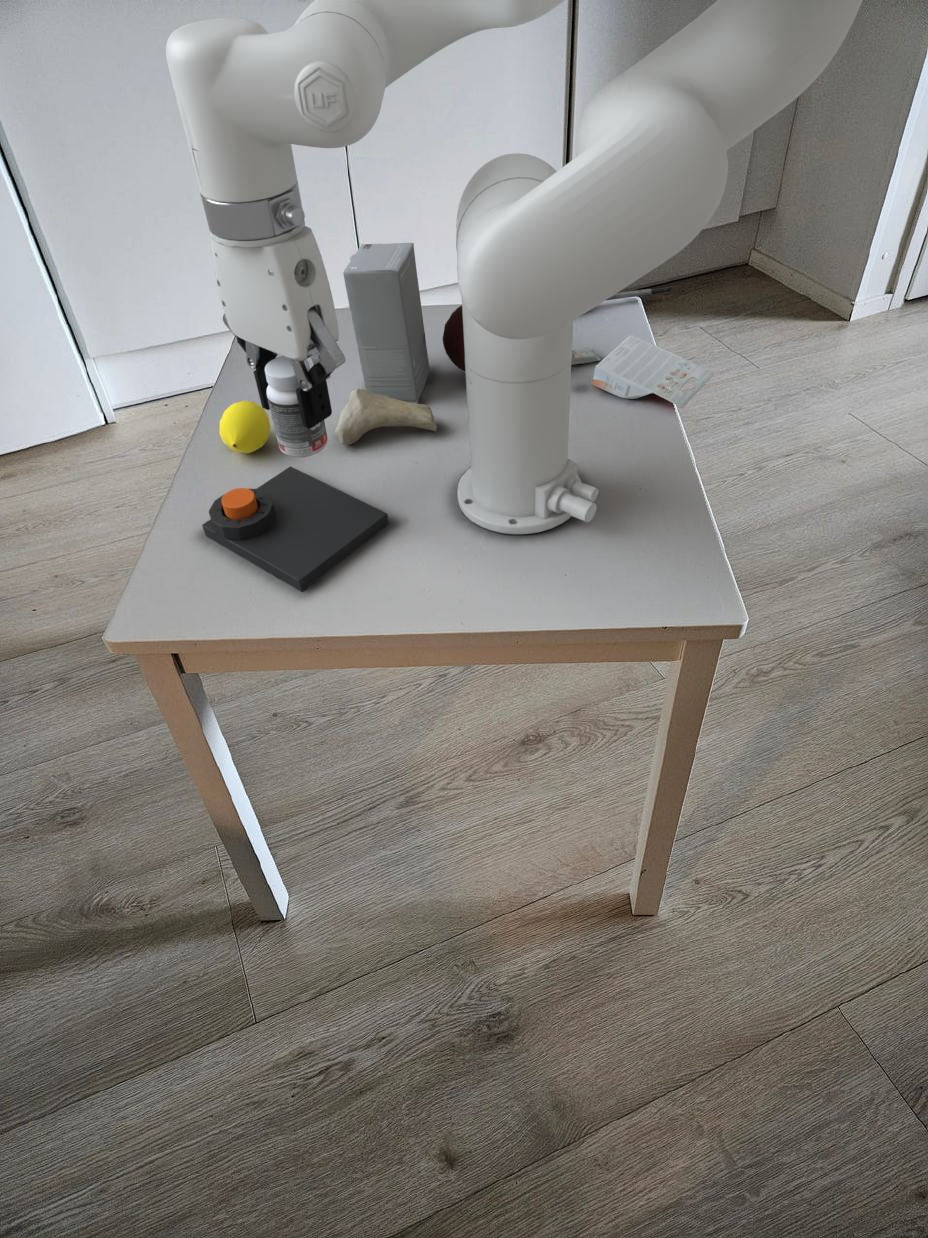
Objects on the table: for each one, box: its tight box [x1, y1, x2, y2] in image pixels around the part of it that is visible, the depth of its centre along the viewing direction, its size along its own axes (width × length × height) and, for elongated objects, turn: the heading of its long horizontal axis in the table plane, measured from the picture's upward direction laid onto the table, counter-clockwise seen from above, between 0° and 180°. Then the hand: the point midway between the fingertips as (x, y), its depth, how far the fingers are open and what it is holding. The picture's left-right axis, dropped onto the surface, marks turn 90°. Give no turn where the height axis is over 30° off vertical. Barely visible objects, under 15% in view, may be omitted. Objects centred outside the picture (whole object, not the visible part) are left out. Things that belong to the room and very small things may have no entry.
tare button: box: [221, 487, 258, 520], centre depth 85 cm, size 3×3×2 cm
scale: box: [201, 466, 390, 592], centre depth 86 cm, size 14×12×3 cm
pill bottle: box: [265, 355, 328, 458], centre depth 81 cm, size 5×5×8 cm
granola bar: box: [571, 348, 602, 366], centre depth 106 cm, size 7×1×3 cm
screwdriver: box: [604, 286, 673, 302], centre depth 116 cm, size 25×3×3 cm
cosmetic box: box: [342, 242, 430, 404], centre depth 100 cm, size 8×7×16 cm
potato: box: [442, 304, 466, 373], centre depth 102 cm, size 9×12×9 cm
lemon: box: [218, 400, 271, 454], centre depth 95 cm, size 7×5×5 cm
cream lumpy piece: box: [334, 388, 438, 446], centre depth 97 cm, size 11×6×5 cm, turn 101°
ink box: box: [590, 334, 715, 409], centre depth 102 cm, size 3×9×12 cm
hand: (296, 410), depth 81 cm, fingers closed on pill bottle, 4 cm apart
